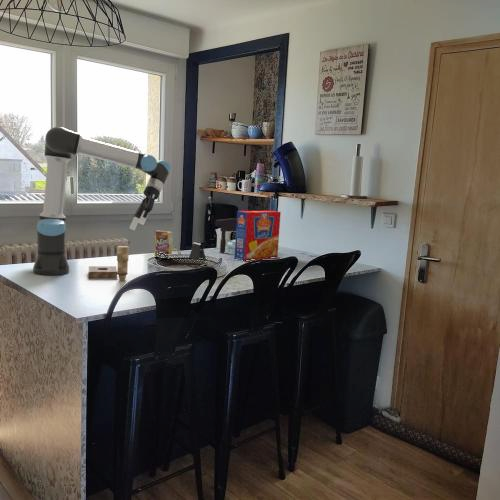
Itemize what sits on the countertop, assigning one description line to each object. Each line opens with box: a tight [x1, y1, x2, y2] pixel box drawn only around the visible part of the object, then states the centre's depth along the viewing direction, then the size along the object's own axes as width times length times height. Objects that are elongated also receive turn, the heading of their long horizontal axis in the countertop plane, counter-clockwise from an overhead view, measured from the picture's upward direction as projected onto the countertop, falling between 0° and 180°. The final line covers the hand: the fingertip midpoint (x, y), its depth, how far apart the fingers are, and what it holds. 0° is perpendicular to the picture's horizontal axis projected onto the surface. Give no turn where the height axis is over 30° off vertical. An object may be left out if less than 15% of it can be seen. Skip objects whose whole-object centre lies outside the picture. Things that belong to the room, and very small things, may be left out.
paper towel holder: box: [214, 217, 237, 254], centre depth 309 cm, size 16×21×33 cm
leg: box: [116, 245, 130, 282], centre depth 212 cm, size 5×5×15 cm
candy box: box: [154, 230, 174, 257], centre depth 269 cm, size 9×4×15 cm, turn 72°
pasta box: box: [233, 210, 282, 262], centre depth 287 cm, size 28×8×28 cm, turn 134°
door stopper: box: [188, 241, 207, 260], centre depth 256 cm, size 9×6×12 cm, turn 136°
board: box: [88, 265, 118, 279], centre depth 220 cm, size 12×12×3 cm
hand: (136, 226), depth 234 cm, fingers open, 13 cm apart
